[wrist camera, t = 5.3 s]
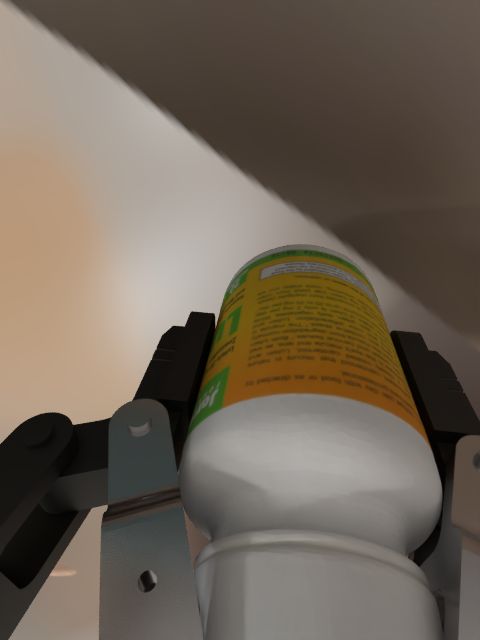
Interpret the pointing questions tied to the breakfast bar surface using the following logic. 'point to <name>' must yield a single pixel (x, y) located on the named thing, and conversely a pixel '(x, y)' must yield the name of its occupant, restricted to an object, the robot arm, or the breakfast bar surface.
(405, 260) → the breakfast bar surface
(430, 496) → the supplement bottle
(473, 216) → the breakfast bar surface
